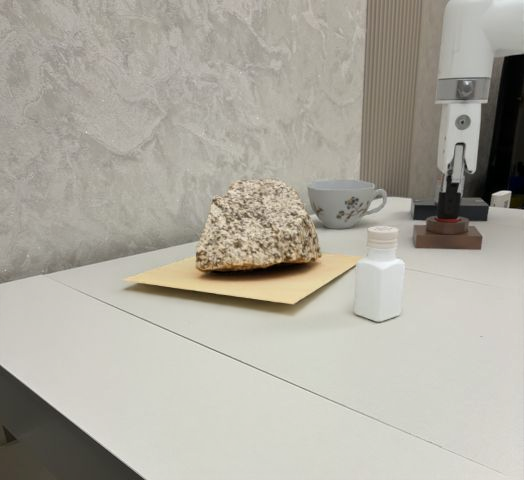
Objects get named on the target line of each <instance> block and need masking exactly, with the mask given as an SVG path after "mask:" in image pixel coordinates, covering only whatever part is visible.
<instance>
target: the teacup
mask: <svg viewBox="0 0 524 480" xmlns="http://www.w3.org/2000/svg"><path fill="white" fill-rule="evenodd" d="M306 187H307V195H308V199H309V203H310V206H311V209H312V211H313V213H314V214H315V216H316V217H317V219H318V220H319V221H320V222H321V223H322V225H323V226H324V227H325V228H328V229H334V230H335V229H337V230H344V229H351V228H354V227H355V225H356V224H357V223H358V222H359V221H361V220H362V218H364V217H365V216H368V215H369V216H370V215H373V214H376V213H379V212H380V211H382V210H383V209H384V207H385V206H386V204H387V200H388V194H387V191H386V190H385V189H384V188H378V189H375V187H376V185H375V183H373V182H368V181H364V180H361V179H345V178H343V179H342V178H338V179H335V178H334V179H323V180H318V181H317V180H316V181H312V182H308V183H306ZM377 196H381V197H382V203H381V204H379V205H378V206H377V207H375V208H373V209H370V210H369V208H370V206H371V204H372V202H373V201H374V200H375V198H376V197H377Z"/></svg>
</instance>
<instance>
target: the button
mask: <svg viewBox="0 0 524 480" xmlns="http://www.w3.org/2000/svg"><path fill="white" fill-rule="evenodd" d="M436 220H437V221H444V222H456V221H459V218H457V219H439V218H438V217H436Z"/></svg>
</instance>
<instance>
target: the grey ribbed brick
mask: <svg viewBox="0 0 524 480" xmlns="http://www.w3.org/2000/svg"><path fill="white" fill-rule="evenodd" d="M465 179H466V177H465V175H463V180H462V186H461V192H460V193H461V199H462V198H463V194H464V188H465V187H464V186H465ZM440 187H441V177H439V178H437V179H436V182H435V192H434V198H435V201H434V204H438V197H439V192H442V191H440Z"/></svg>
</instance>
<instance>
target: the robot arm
mask: <svg viewBox="0 0 524 480" xmlns="http://www.w3.org/2000/svg"><path fill="white" fill-rule="evenodd" d="M441 29H442V30H441V40H440V48H439V59H438V69H437V77H436V78H437V80H436V87H435V98H434V105H442V107H441V115H440V124H439V132H438V144H437V158H436V159H437V162H436V166H437V169H438V170H439V171H440V172H441V177H440V178H441V187H440V191H442V192H439V197H438V206H437V217H438V218H439V219H457V218H458V214H459V206H460V199H461V193H460V192H461V186H462V180H463V176H464V173H465V172H466V173H467V174H469V175H474V174H475V172H476V171H477V165H478V163H477V162H478V154H479V153H478V151H479V144H480V143H479V141H480V131H481V118H482V104H488V101H489V95H490V89H491V81H492V73H493V68H494V67H493V66H494V59H495V58H504V57H510V56H517V55H524V0H449V1H448V2H447V3H446V5H445V7H444V11H443V20H442V28H441ZM464 171H465V172H464Z"/></svg>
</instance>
